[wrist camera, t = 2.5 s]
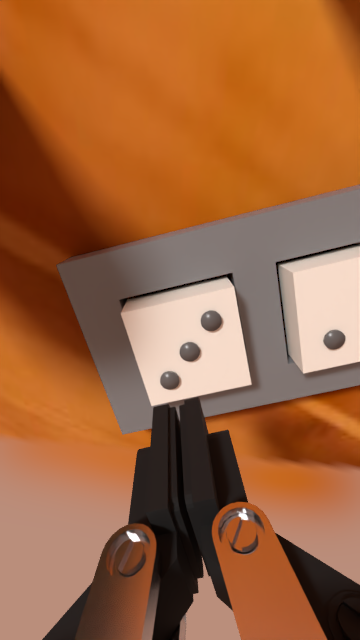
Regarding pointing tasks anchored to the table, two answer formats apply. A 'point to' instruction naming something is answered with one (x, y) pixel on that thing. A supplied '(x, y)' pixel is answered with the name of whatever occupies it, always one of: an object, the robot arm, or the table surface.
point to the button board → (202, 263)
